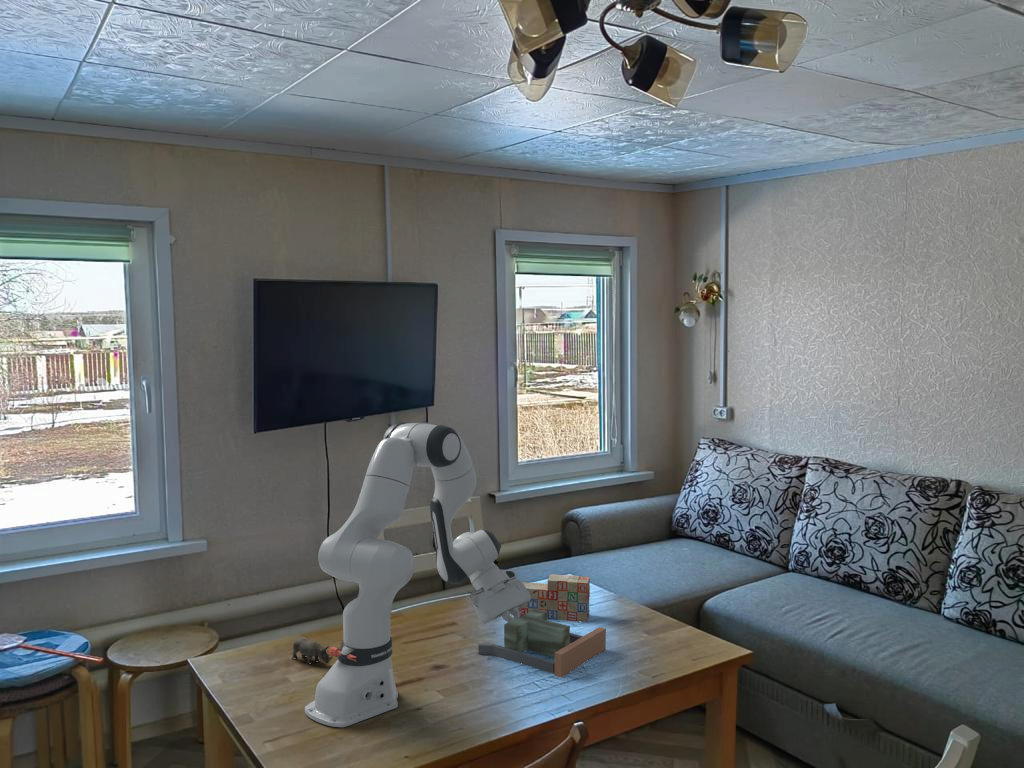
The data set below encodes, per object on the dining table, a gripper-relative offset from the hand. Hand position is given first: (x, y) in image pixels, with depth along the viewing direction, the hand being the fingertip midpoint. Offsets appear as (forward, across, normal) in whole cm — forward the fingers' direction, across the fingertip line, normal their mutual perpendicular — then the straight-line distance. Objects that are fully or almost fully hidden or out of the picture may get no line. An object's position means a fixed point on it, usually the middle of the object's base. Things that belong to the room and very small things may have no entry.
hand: (518, 625), depth 230 cm
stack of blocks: (+1, +24, +7) cm, 25 cm away
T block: (+10, 0, -2) cm, 10 cm away
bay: (+10, 0, -2) cm, 10 cm away
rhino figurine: (-22, -42, +30) cm, 56 cm away
